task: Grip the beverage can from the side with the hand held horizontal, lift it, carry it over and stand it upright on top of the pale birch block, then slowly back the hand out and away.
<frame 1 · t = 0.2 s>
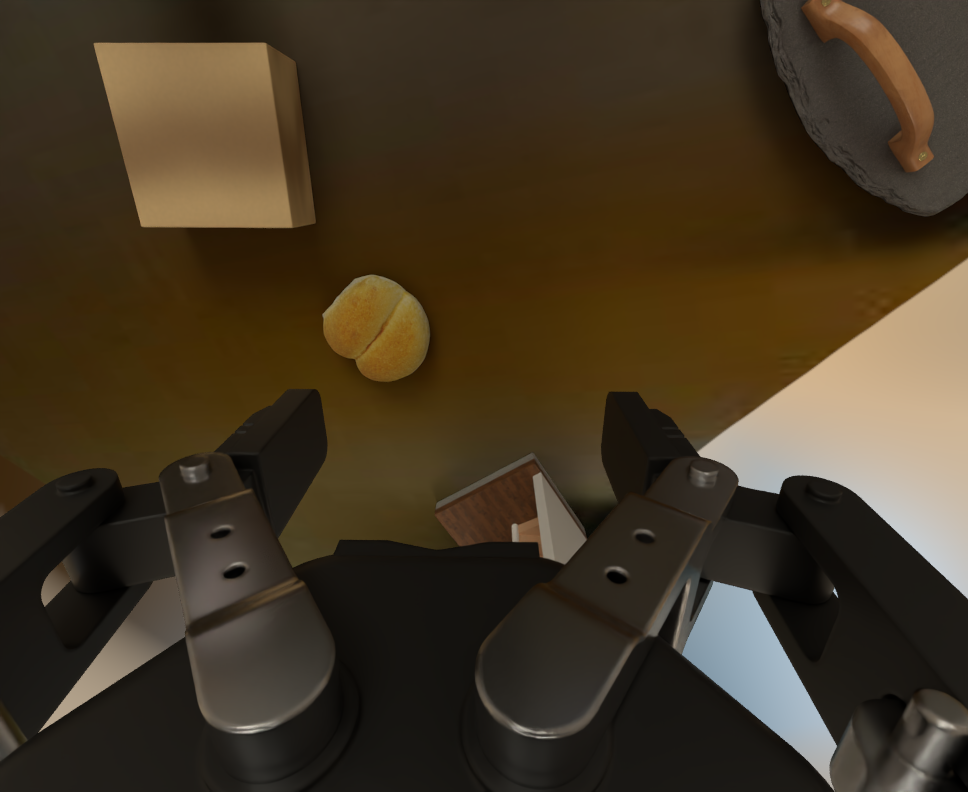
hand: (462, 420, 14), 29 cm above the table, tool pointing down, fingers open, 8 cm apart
architectural tower model: (510, 514, 50), on the table
birch block: (235, 147, 37), on the table
bread roll: (380, 325, 43), on the table
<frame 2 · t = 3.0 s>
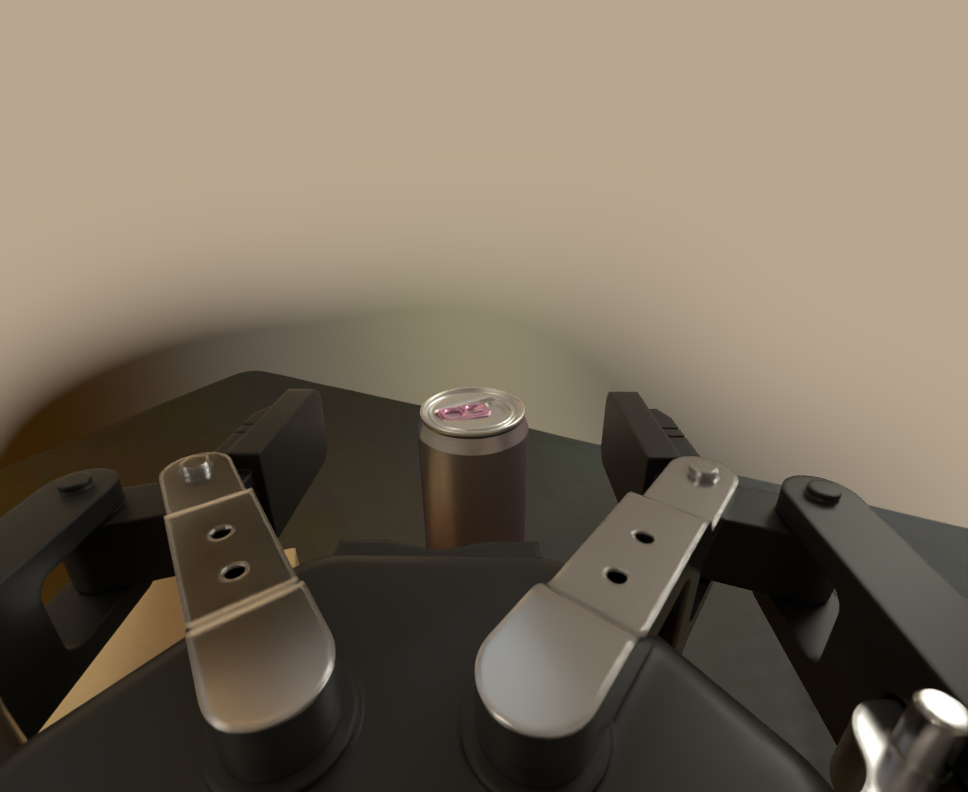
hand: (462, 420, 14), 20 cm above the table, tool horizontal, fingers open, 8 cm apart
beverage can: (476, 613, 32), on the table
birch block: (204, 710, 26), on the table
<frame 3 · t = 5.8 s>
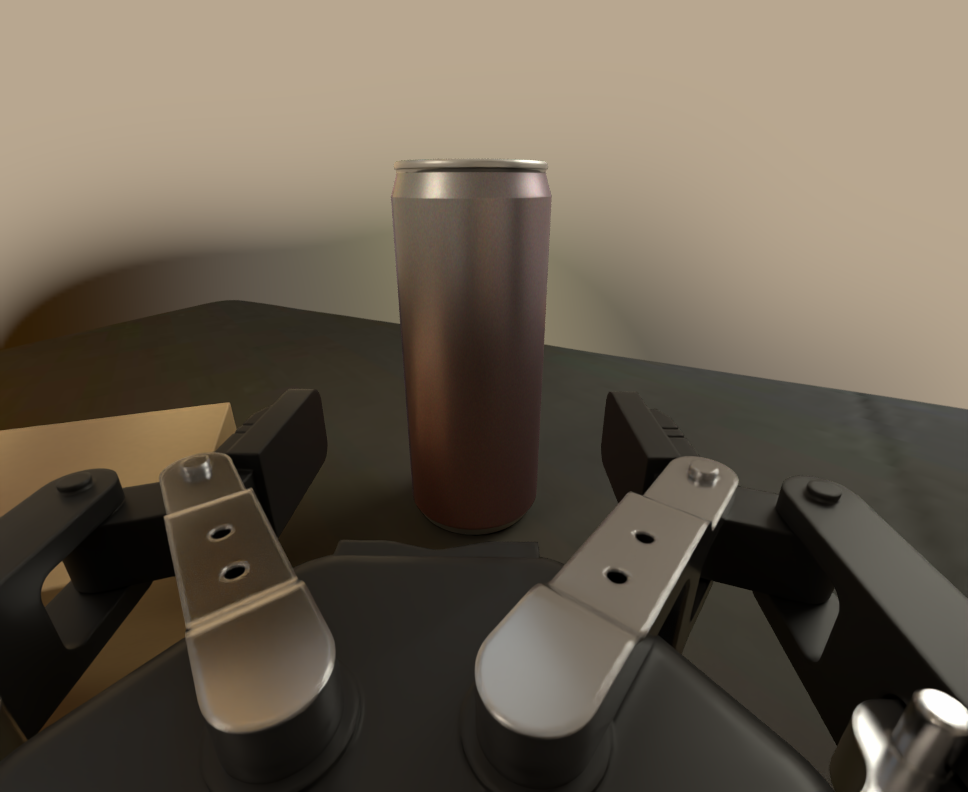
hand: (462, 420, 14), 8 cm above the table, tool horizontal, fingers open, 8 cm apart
beverage can: (474, 503, 24), on the table
birch block: (78, 599, 18), on the table
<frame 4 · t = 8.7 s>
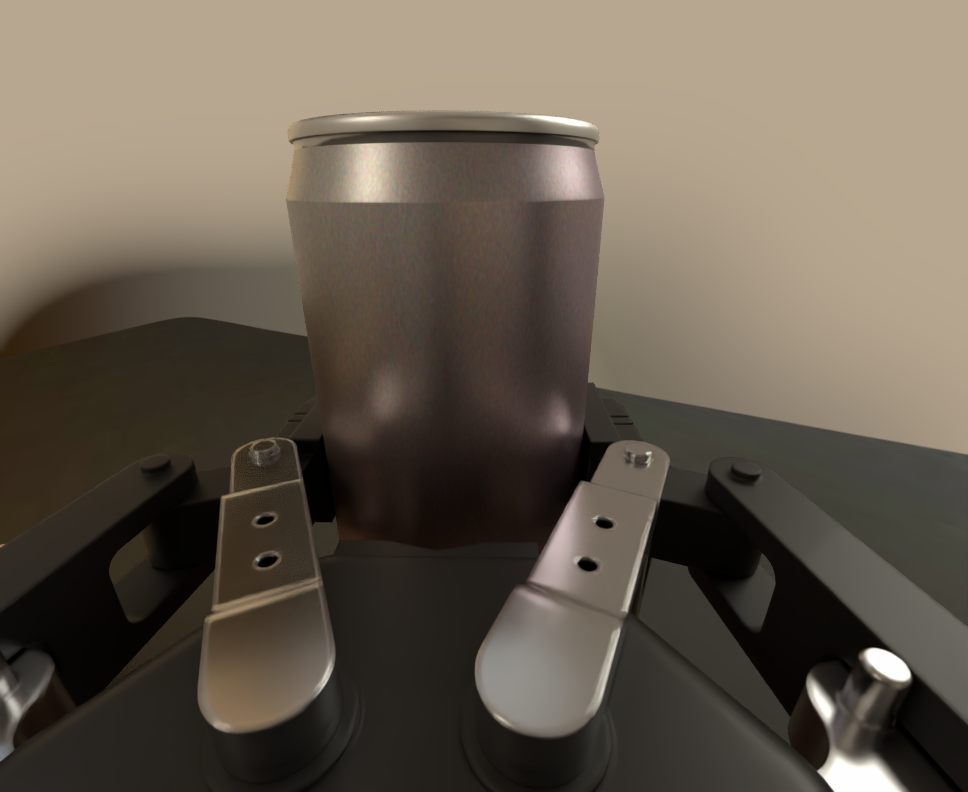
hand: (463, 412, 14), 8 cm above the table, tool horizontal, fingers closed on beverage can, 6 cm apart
beverage can: (463, 681, 15), on the table, touching gripper
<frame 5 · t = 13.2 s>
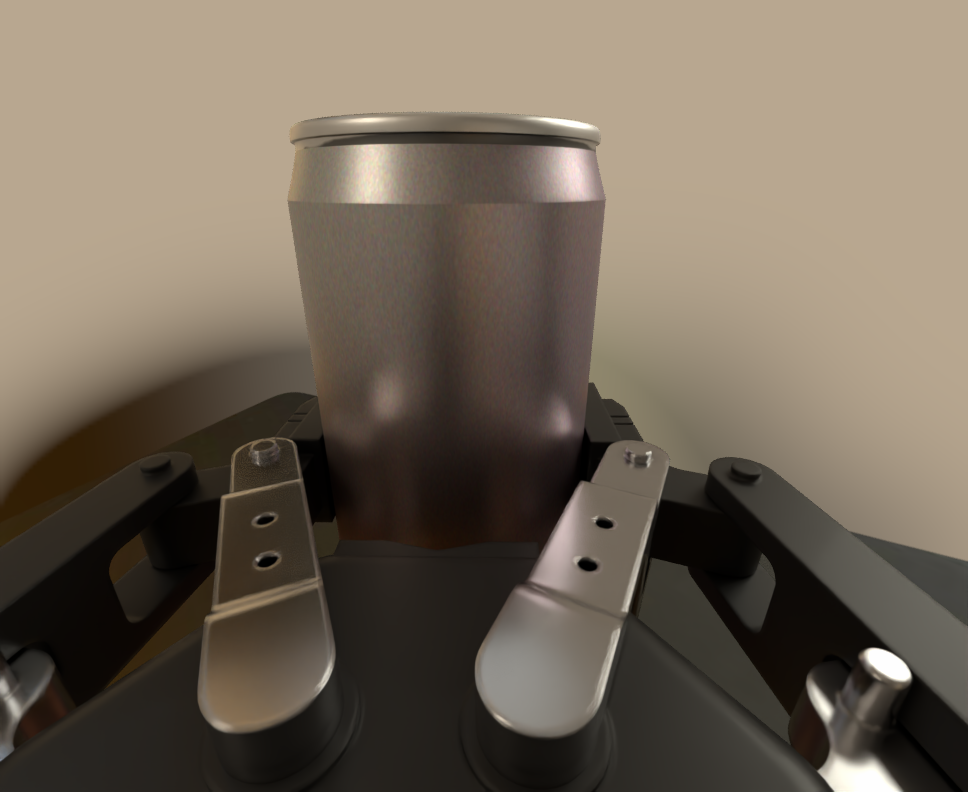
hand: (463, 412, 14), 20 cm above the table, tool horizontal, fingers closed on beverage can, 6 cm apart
beverage can: (462, 682, 15), point 11 cm above the table, touching gripper
when the fingers open (13 cm above the table, at t = 17.6 s): beverage can stays where it is, resting on birch block.
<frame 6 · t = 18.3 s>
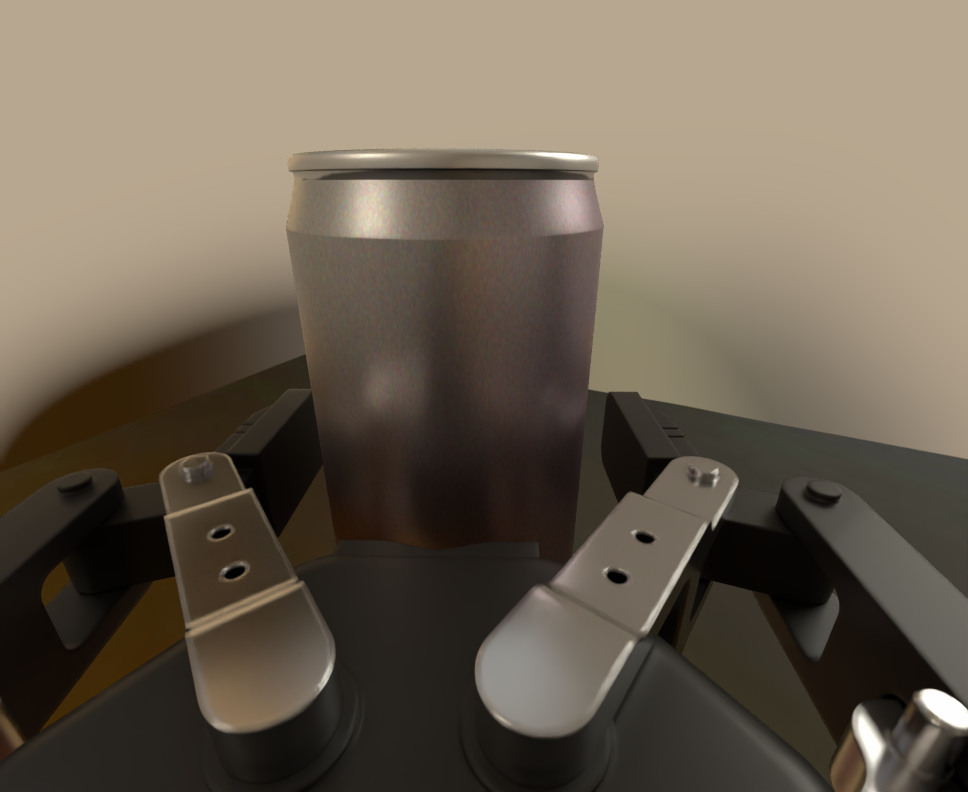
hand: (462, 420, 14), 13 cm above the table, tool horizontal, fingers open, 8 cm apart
beverage can: (461, 696, 15), point 5 cm above the table, touching birch block
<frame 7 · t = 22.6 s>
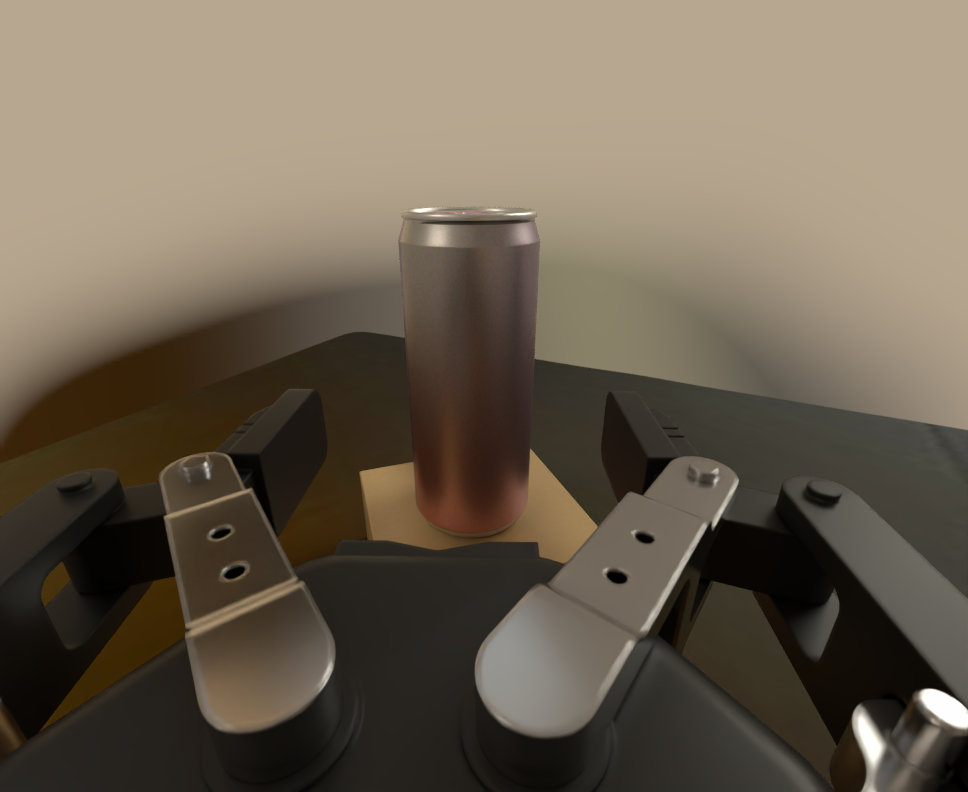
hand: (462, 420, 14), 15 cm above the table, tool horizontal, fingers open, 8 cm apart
beverage can: (472, 509, 26), point 5 cm above the table, touching birch block
birch block: (473, 575, 28), on the table
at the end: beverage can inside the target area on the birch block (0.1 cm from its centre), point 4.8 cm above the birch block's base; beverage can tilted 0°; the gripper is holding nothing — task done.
